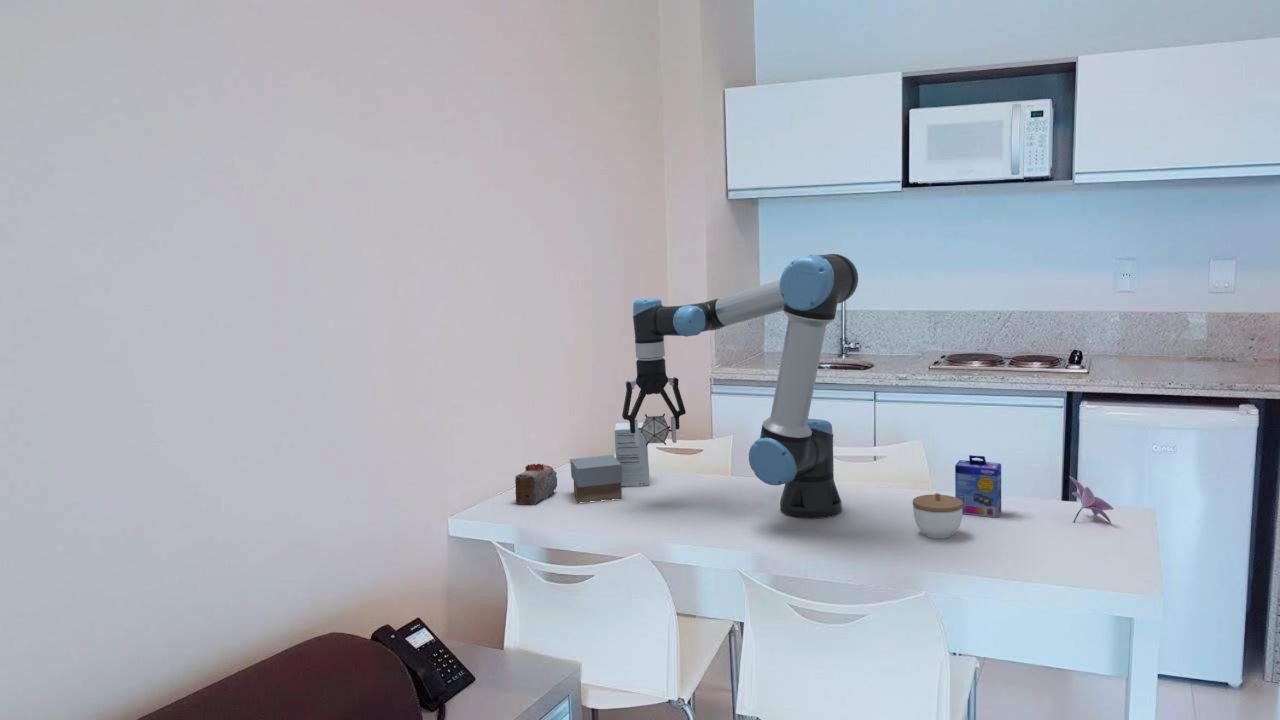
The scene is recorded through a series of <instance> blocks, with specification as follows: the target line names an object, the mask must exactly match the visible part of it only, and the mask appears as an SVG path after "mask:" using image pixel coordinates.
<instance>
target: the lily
mask: <svg viewBox="0 0 1280 720" xmlns="http://www.w3.org/2000/svg"><path fill="white" fill-rule="evenodd" d="M1069 479H1070V480H1071V481H1072V482H1073V484H1074V485H1075V486H1076V488H1077V490H1078V491H1074V492H1072V493H1071V494H1072V495H1073V496H1074V497H1076V498H1077V499H1079V500H1080V502H1081V508H1080V509H1079V510H1078V511H1077V513H1076V515H1075V517H1074V519H1073V521H1072V523H1075V522H1076V521H1077V518H1078V516H1079V514H1080V513H1081V511H1083V509H1088V510H1090V511H1091V512H1092V513H1093V515H1095V516H1097V515H1101V516H1102V517H1103V518H1104V519H1106V520H1107V521H1108V522H1109V523H1112V521H1111V520H1110V518H1109V516H1108V515H1107V513H1106V512H1105V511H1109V510H1114V507H1113V506H1111V504H1109V503H1108V502H1107V501H1105V500H1104V499H1102V498H1100V497H1097V496H1095V495H1094V493H1093V492H1092V490H1091V489H1090V487H1088V486H1085V487H1084V486H1083V484H1081V482H1079V481H1078V480H1076V479H1075V478H1074V477H1072V476H1070V475H1069Z"/></svg>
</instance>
